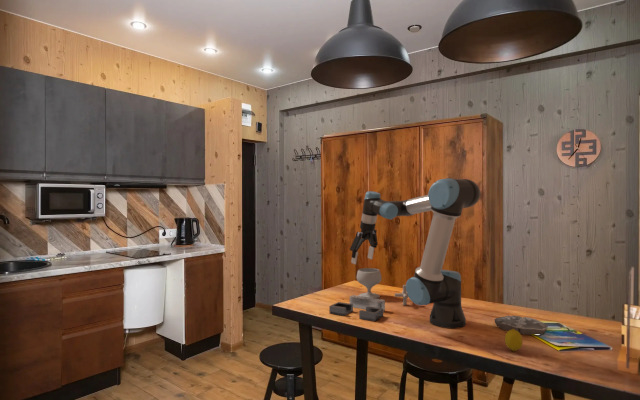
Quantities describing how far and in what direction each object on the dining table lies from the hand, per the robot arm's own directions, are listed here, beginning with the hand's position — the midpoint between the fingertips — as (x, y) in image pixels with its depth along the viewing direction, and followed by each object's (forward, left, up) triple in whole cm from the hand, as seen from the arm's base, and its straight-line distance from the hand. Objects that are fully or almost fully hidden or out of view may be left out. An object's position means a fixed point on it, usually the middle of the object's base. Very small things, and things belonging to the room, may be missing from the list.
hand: (361, 260), depth 196 cm
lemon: (-73, +26, -23) cm, 81 cm away
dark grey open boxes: (-5, +16, -23) cm, 29 cm away
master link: (-5, +4, -23) cm, 24 cm away
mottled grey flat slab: (-73, -2, -23) cm, 76 cm away
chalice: (+4, -18, -23) cm, 29 cm away
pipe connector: (-19, -12, -23) cm, 32 cm away
